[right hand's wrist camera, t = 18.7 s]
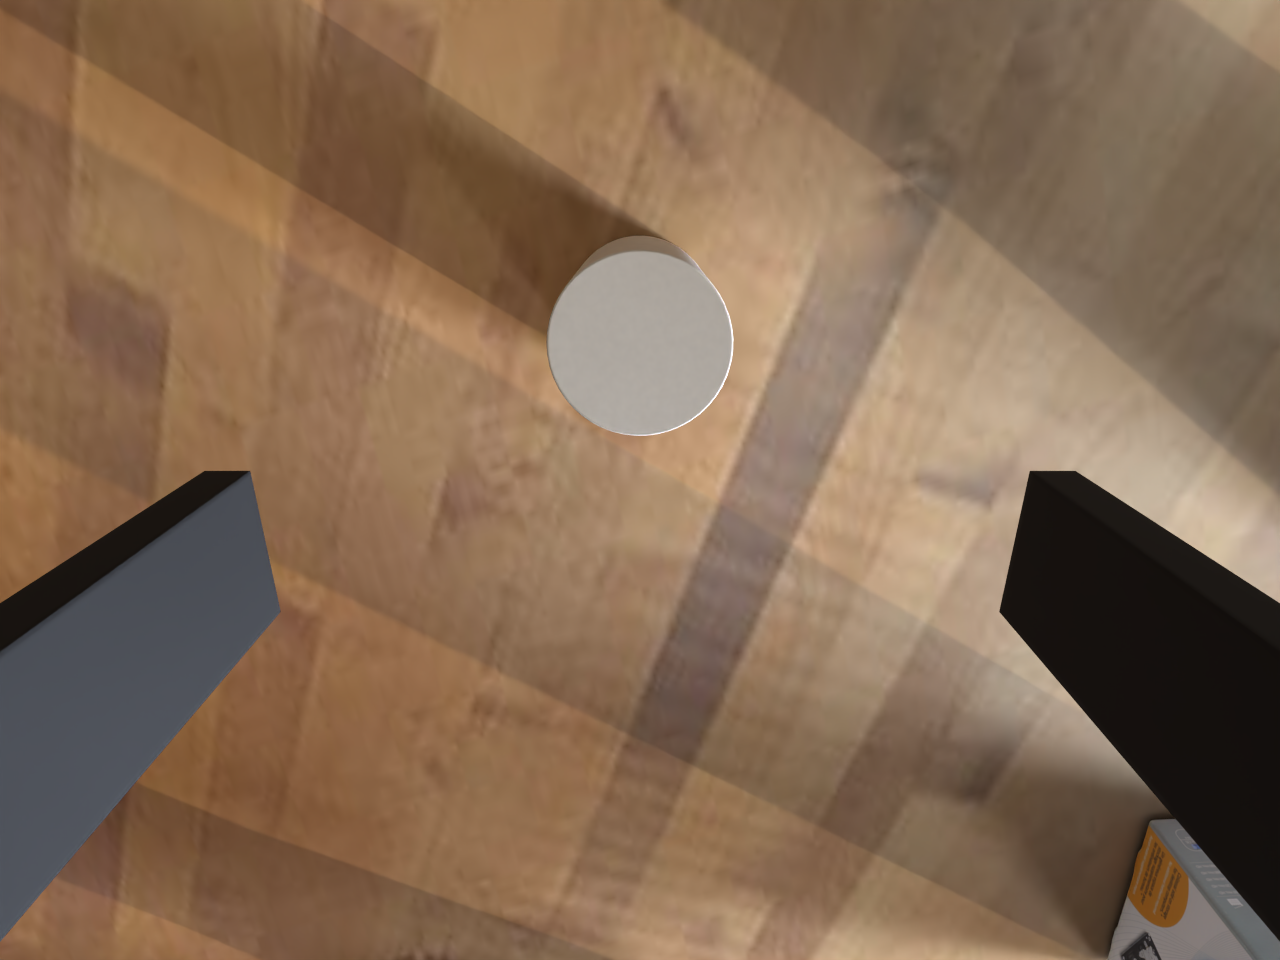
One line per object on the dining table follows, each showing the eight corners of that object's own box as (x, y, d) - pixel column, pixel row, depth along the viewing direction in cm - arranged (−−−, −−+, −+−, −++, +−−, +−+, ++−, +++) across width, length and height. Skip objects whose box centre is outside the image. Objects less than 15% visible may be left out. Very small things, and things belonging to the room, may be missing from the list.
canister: (568, 231, 35) (546, 244, 26) (717, 239, 35) (742, 254, 27) (567, 377, 37) (546, 431, 29) (705, 384, 38) (724, 440, 29)
